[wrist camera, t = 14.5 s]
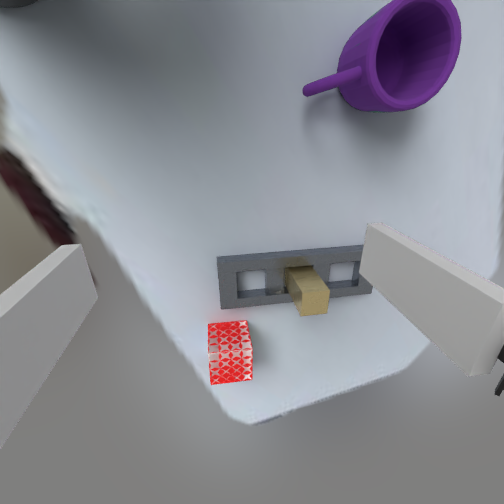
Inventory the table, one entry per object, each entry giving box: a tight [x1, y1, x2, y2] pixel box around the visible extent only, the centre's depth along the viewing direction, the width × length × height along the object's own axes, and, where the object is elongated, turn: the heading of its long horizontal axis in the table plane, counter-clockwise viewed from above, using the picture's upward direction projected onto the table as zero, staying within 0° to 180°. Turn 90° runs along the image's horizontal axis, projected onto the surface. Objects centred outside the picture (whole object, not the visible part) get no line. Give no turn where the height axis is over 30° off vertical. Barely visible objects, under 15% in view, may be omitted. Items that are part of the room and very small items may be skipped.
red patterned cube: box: [208, 320, 253, 385], centre depth 52 cm, size 8×8×8 cm
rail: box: [217, 245, 373, 309], centre depth 50 cm, size 30×10×2 cm, turn 91°
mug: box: [303, 0, 461, 112], centre depth 34 cm, size 17×11×10 cm, turn 107°
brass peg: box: [285, 265, 330, 316], centre depth 47 cm, size 4×4×10 cm
